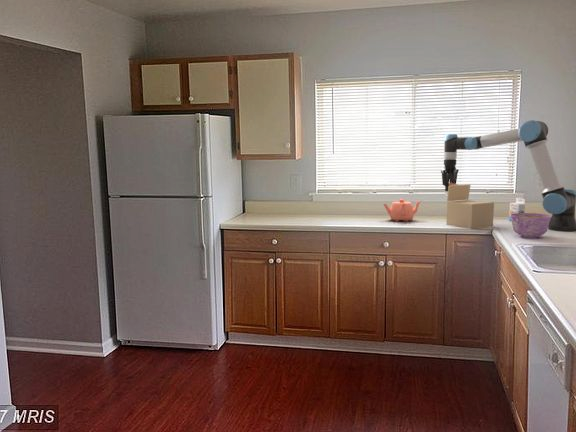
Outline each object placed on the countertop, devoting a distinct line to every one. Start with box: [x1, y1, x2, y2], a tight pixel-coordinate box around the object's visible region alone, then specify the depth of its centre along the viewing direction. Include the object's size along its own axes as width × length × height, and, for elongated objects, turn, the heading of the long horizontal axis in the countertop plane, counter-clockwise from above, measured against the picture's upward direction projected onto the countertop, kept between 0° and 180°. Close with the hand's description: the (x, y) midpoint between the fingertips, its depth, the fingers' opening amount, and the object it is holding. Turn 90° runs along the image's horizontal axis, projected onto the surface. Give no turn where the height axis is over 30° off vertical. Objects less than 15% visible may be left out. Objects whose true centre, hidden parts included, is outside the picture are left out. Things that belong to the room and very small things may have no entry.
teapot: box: [383, 198, 422, 223], centre depth 351 cm, size 18×18×14 cm
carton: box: [445, 199, 495, 230], centre depth 328 cm, size 20×18×14 cm
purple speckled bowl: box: [510, 212, 552, 239], centre depth 288 cm, size 20×20×12 cm
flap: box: [446, 182, 471, 202], centre depth 338 cm, size 10×18×8 cm
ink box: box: [508, 197, 526, 222], centre depth 342 cm, size 8×5×15 cm, turn 17°
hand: (448, 196), depth 343 cm, fingers open, 2 cm apart
